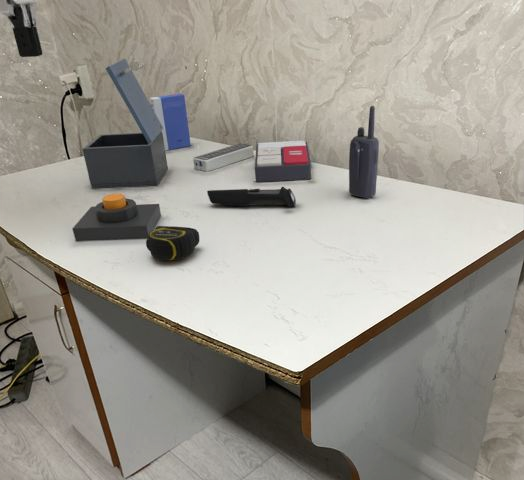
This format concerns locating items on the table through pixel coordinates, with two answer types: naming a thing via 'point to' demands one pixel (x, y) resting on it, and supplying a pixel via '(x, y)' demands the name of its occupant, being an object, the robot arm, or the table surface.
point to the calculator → (282, 161)
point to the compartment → (125, 160)
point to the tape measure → (172, 242)
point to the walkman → (172, 120)
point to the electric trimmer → (252, 197)
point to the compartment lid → (135, 97)
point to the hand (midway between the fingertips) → (31, 55)
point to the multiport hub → (223, 157)
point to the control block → (117, 222)
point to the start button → (114, 201)
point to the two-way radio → (364, 161)
